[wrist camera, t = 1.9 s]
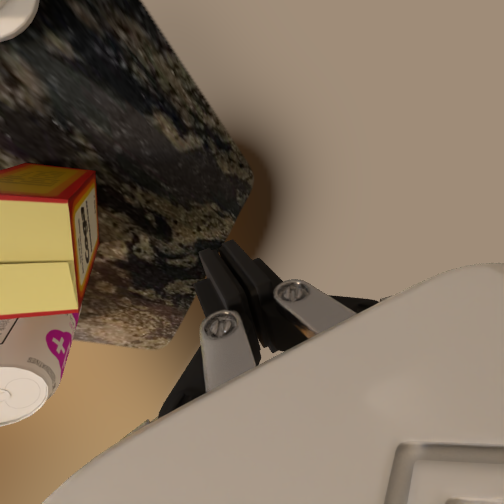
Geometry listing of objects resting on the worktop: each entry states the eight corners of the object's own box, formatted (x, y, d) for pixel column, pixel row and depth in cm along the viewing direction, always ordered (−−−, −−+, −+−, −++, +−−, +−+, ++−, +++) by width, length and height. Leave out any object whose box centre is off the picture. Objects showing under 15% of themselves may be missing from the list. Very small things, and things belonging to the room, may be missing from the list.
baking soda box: (25, 162, 28) (-72, 191, 15) (95, 170, 31) (66, 200, 17) (38, 243, 31) (-32, 325, 18) (99, 243, 34) (78, 315, 21)
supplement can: (84, 275, 35) (56, 356, 22) (81, 325, 37) (55, 421, 25) (5, 272, 31) (-80, 367, 19) (8, 327, 34) (-64, 442, 21)
